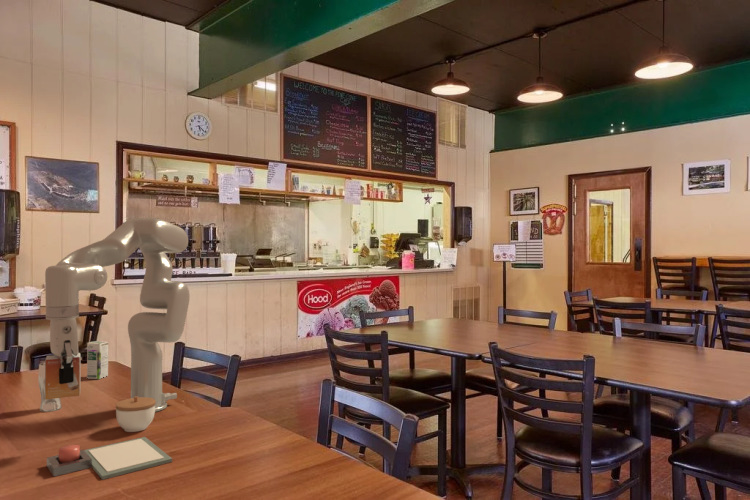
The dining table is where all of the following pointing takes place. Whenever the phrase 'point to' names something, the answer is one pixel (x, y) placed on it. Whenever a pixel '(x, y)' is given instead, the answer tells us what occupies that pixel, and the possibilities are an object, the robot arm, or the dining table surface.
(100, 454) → the board
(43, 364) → the beer glass
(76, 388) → the small box
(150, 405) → the lidded jar
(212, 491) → the dining table surface
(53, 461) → the button housing
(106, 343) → the syrup box
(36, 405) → the dining table surface
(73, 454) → the red rounded knob
